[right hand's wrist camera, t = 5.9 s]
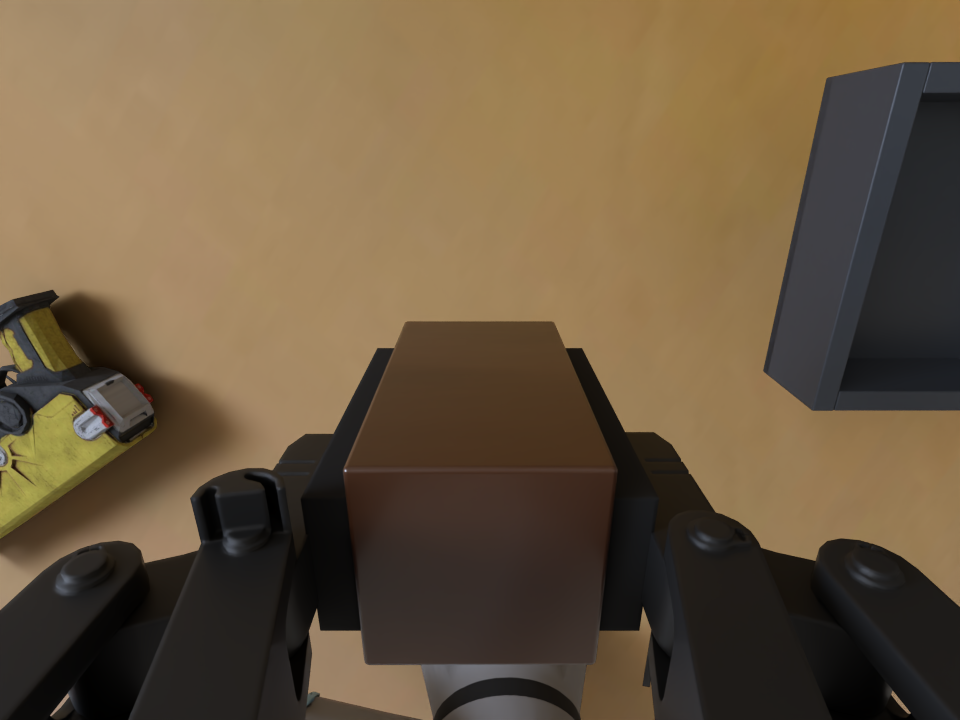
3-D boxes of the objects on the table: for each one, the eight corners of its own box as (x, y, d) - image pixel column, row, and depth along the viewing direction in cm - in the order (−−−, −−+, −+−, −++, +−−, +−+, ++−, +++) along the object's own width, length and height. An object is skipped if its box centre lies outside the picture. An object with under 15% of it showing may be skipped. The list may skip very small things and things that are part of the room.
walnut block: (547, 450, 16) (596, 667, 9) (411, 450, 16) (363, 667, 9) (554, 320, 14) (620, 468, 8) (404, 320, 14) (340, 468, 8)
